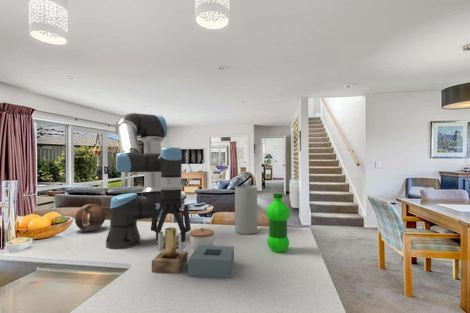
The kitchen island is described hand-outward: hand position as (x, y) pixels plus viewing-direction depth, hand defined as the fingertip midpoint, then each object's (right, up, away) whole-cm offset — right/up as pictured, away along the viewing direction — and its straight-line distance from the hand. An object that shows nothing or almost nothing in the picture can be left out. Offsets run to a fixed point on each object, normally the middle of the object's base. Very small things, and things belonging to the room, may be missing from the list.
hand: (170, 250), depth 93 cm
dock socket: (+16, -6, -2) cm, 17 cm away
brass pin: (0, -6, 0) cm, 6 cm away
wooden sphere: (-58, -7, +48) cm, 76 cm away
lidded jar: (+9, -7, +19) cm, 22 cm away
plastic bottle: (+43, -7, +17) cm, 47 cm away
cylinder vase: (+30, -7, +47) cm, 56 cm away
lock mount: (0, -6, 0) cm, 6 cm away
